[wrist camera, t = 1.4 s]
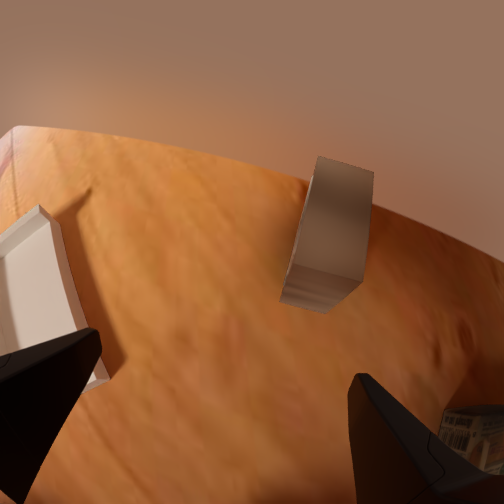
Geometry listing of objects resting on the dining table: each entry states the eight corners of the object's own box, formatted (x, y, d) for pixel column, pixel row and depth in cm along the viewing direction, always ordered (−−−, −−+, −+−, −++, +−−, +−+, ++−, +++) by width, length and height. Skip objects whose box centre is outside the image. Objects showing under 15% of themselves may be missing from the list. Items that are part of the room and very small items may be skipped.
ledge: (110, 379, 21) (80, 379, 16) (36, 414, 18) (4, 416, 14) (59, 224, 27) (36, 201, 22) (0, 269, 25) (-25, 254, 20)
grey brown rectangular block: (326, 314, 23) (364, 282, 15) (278, 301, 24) (291, 262, 15) (342, 231, 26) (375, 172, 18) (299, 220, 27) (316, 155, 18)
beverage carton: (381, 561, 12) (405, 589, 6) (439, 406, 19) (483, 408, 13) (438, 546, 11) (466, 565, 5) (489, 402, 19) (531, 400, 12)
